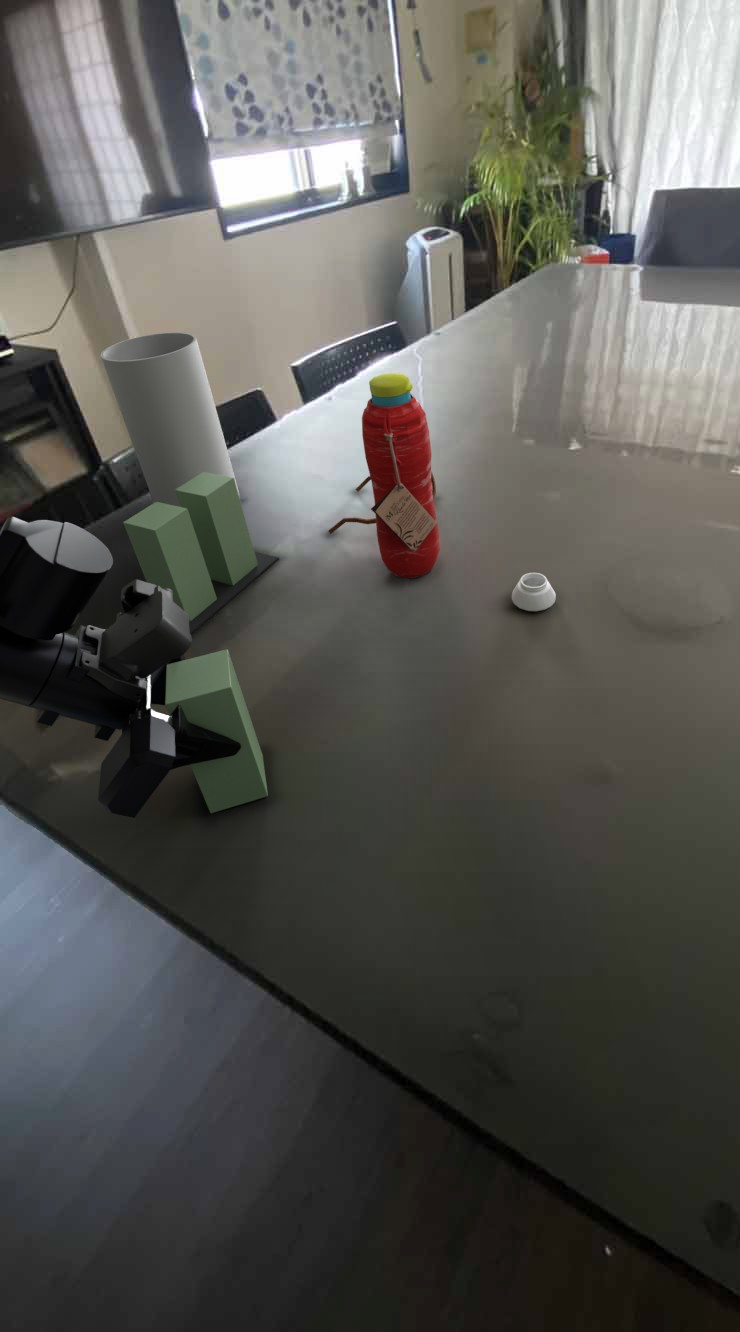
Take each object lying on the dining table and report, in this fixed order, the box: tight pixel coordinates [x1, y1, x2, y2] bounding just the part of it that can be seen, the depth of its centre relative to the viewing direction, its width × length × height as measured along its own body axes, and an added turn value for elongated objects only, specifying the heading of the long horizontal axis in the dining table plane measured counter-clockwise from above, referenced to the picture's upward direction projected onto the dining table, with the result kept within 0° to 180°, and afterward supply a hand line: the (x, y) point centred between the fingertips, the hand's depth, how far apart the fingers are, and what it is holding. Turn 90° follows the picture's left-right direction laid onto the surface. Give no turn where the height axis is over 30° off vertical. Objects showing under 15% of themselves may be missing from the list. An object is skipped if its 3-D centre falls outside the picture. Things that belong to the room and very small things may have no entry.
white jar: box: [511, 572, 557, 612], centre depth 79 cm, size 5×3×5 cm
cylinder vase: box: [100, 331, 240, 507], centre depth 99 cm, size 12×12×25 cm
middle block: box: [123, 502, 217, 621], centre depth 81 cm, size 5×5×13 cm
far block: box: [175, 472, 258, 585], centre depth 86 cm, size 5×5×13 cm
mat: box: [189, 551, 280, 636], centre depth 84 cm, size 26×8×1 cm, turn 153°
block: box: [164, 649, 269, 814], centre depth 58 cm, size 5×5×13 cm
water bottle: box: [361, 372, 441, 579], centre depth 79 cm, size 12×8×25 cm, turn 176°
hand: (235, 727), depth 58 cm, fingers closed on block, 5 cm apart
